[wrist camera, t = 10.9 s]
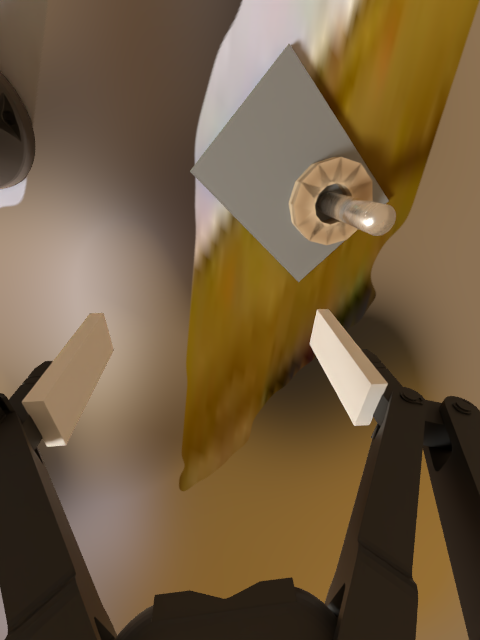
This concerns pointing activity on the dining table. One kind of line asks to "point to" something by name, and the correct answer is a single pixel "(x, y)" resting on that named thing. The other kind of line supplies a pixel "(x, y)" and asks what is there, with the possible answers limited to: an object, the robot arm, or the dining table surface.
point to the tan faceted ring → (313, 183)
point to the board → (277, 160)
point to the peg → (358, 212)
